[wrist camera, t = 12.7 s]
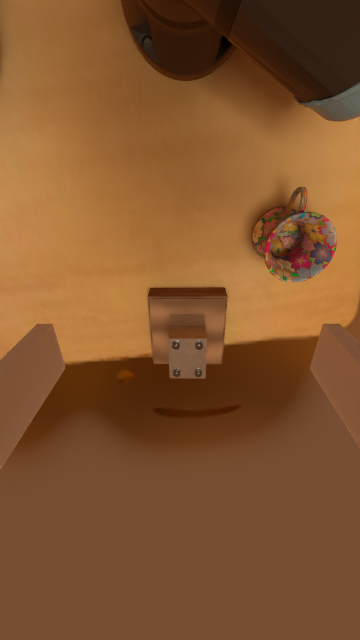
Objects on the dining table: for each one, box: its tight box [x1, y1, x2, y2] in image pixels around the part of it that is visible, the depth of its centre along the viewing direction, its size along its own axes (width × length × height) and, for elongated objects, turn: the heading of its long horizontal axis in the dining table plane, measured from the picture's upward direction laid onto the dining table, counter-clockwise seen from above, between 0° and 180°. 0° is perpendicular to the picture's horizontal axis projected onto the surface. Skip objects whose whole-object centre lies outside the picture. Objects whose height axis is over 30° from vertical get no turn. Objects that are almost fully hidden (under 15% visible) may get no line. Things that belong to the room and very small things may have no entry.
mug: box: [252, 187, 337, 282], centre depth 38 cm, size 12×9×11 cm
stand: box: [148, 288, 227, 364], centre depth 50 cm, size 15×14×4 cm
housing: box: [168, 314, 207, 378], centre depth 45 cm, size 8×6×8 cm
